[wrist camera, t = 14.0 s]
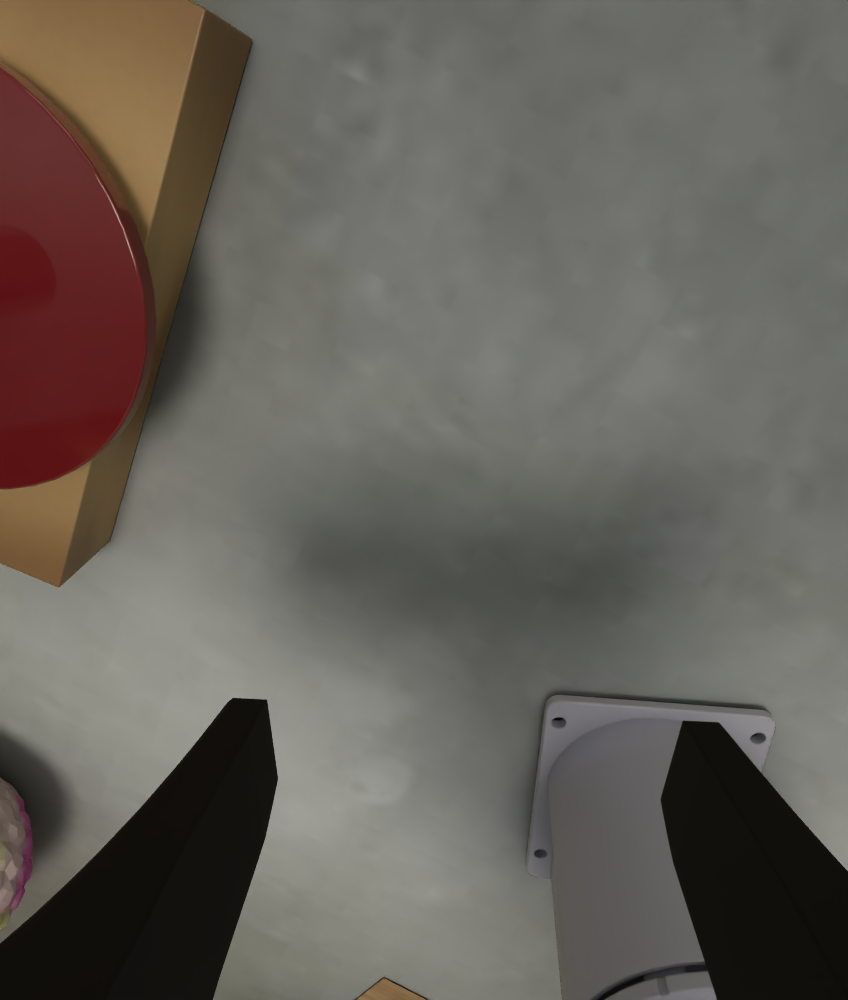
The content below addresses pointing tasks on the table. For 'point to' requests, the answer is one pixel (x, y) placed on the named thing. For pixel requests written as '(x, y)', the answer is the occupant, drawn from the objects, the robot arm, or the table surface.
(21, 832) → the decorative item
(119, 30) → the wooden block
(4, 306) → the lid
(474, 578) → the table surface
